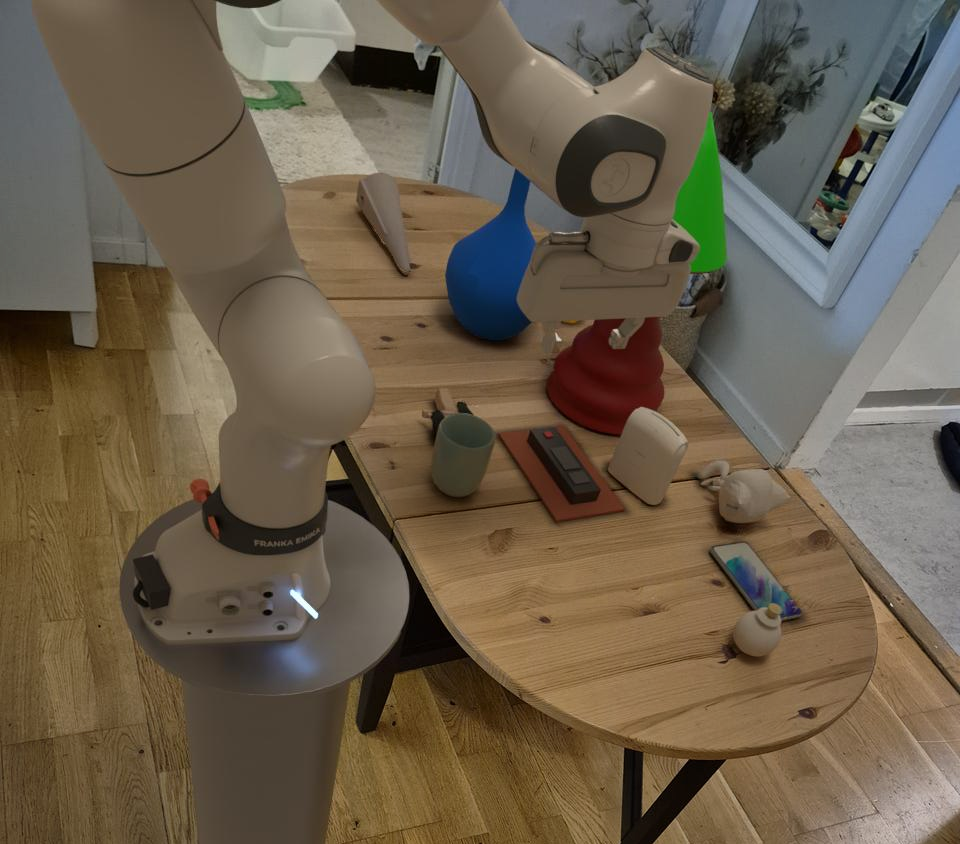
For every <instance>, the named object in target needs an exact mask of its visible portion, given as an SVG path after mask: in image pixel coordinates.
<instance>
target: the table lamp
mask: <svg viewBox="0 0 960 844" xmlns="http://www.w3.org/2000/svg"><path fill="white" fill-rule="evenodd" d="M720 161H721V160H720V155H719V148H718V142H717V136H716V130H715V125H714V119H713V113H712V111H710V114H709V118H708V122H707V125H706V129H705V132H704V135H703V138H702V141H701V144H700V147H699V150H698V153H697V156H696V159H695V161H694V164H693V167H692V169H691V172H690V174H689V176H688V178H687V179H686V181H685V182H684V183H683V185H682V186H681V188H680V190H679V192H678V195H677V198H676V203H675V212H674V216H673V220H674V221H676V222H677V223H678V224H679V225H680V226H682V227H683V228H684V229H685V230H686V231H687V232H688V233H689V234H690V235H691V236H692V237H693V238H694V239H695V240H696V242H697V243H698V244H699V245H700V249H699V252H698V254H697V256H696V258H695V259H694V260H693V261H692V262H690V266H691V271H690V275H704V274H711V273H714V272H716V271H719V270H720V269H721V268H722V267H724V266H725V265H726V263H727V261H728V257H727V256H728V252H727V236H726V235H727V233H726V222H725V220H726V219H725V205H724V204H725V203H724V192H723V191H724V190H723V189H724V188H723V176H722V168H721V163H720ZM625 319H626V318H622V319H600V320H593V323H592V324H591V325H588V326H585V327H584V328H582V329H581V330H580V331H579V332H577V333H576V335H575V337H574V338H573V341H572V344H571V345H569V346H567V347H566V348H564V349H563V350H561V351H559V352H558V353H557V355H556V357H555V360H554V363H553V370H552V372H550V374H549V376H548V377H547V380H546V391H547V394H548V397H549V399H550V400H551V402H552V403H553V404H554V406H555V407H556V408H557V409H558V410H559V411H560V412H561V413H562V414H563V415H565V416H566V417H567V418H569V419H570V420H572V421H573V422H575V423H577V424H578V425H580V426H582V427H584V428H587V429H590V430H593V431H596V432H599V433H603V434H604V433H605V434H609V435H617V436H618V435H619V436H621V434H622V432H623V429H624V427H625V425H626V422H627V420H628V418H629V416H630V415H631V414H632V412H633V411H634V410H635V409H638V408H640V407H644V408H648V409H651V410H653V411H655V412H657V413H658V409H659V407H661V404H662V402H663V401H664V399H665V393H666V392H665V387H664V382H663V380H662V374H663V373H664V367H665V363H664V358H663V355H662V353H661V350H660V345H661V344H662V339H663V332H662V328H661V323H660V319H661V317H645V320H644V322H643V325H642V326H641V327H640V328H639V329H638V330H637V331H636V332H635V333H634V334H633V335H632V336H631V337H629V340H628V342H627V345H626V347H625V349H613V348H612V346H610V345H609V338H610V337H611V332H612V329H618V328H619V327H620V325H621V324H622V323H623V322H624V320H625Z"/></svg>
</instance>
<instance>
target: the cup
mask: <svg viewBox="0 0 960 844" xmlns="http://www.w3.org/2000/svg"><path fill="white" fill-rule="evenodd" d="M435 436H436V437H435V439H434V446H433V452H432V457H431V466H430V467H431V476H432V480H433V483H434V485H435V486H436V487H437V489H438V490H439V491H440V492H442V493H444V494H445V495H447V496H449V497H453V498H464V497H467V496H469V495H471V494H473V493H474V492H475V491H476V490H477V489H478V488H479V487H480V486H481V484H482V482H483V480H484V478H485V476H486V473H487V471H488V467H489V464H490V461H491V459H492V458H491V457H492V454H493V451H494V446H495V443H496V433H495V430H494V428H493V427H492V426H491V425H490V423H488V422H487V421H486V420H484V419H482V418H481V417H480V416H479V417H478V416H477V415H474V414H473V415H471V414H467V413H458V412H457V413H456V414H452V415H449V416H447V417H445V418H444V419H443V420H442V421H441V422H440V424H439V427H438V431H437V435H435Z"/></svg>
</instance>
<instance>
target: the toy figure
mask: <svg viewBox="0 0 960 844" xmlns="http://www.w3.org/2000/svg"><path fill="white" fill-rule="evenodd" d="M433 401H434V403H435V405H436V409H433V411H432V412H430V410H424V409H421V417H422V418H423V419H430V420H431V422H432V424H431V425H432V427H431V428H432V430H431V431H432V433H433V434H434V438H436V435H437V431H438V427H439V424H440V422H441V421H442V420H443V419H444V418H445V417H447V416H449V415H452V414H456V413H467V414H471V415H474V413H473V411H471V410H470V408H469V407H468V405H467V403H466V401H465V400H463V401H457V402H456V404H454V401H453V397H452V393H451V390H450V389H449V388H444V387H438V388H437V390H436V393H435V398H434V400H433Z"/></svg>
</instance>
